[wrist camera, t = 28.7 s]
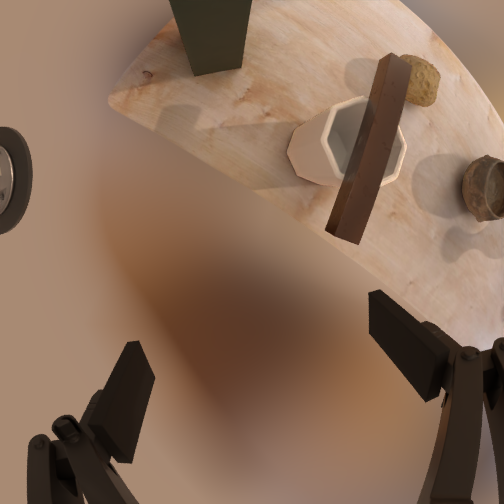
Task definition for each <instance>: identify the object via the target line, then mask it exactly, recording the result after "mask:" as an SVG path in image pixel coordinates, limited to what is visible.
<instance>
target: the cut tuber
mask: <svg viewBox="0 0 504 504" xmlns="http://www.w3.org/2000/svg"><path fill="white" fill-rule="evenodd" d="M400 58H401V59H403V60H404V61H406V62H407V63H409V64H410V65H412V70H411V75H410V80H409V84H408V89H407V93H406V97H405V100H407V101H409V102H411V103H413V104H415V105H420V106H422V107H428V106H430V105H432V104H433V103H434V102H435V100H436V96H437V89H438V86H439V81H440V78H441V77H440V74H439V72H438V71H437V69H436V68H435V67H434V66H433V64H430V63H429V62H428V61H426V60H424V59H421V58H419V57H416V56H412V55H407V54H406V55H402V56H400Z"/></svg>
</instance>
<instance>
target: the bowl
mask: <svg viewBox="0 0 504 504" xmlns="http://www.w3.org/2000/svg"><path fill="white" fill-rule="evenodd" d="M462 194H463V198H464V200H465V203H466V205H467V207H468V209H469V211H470V212H471V213H472V214H473V215H474V216H475V217H476V219H477V221H478V222H482V221H489V220H490V221H491V220H498V219H502V218H504V161H502V160H500V159H497V158H493V157H490V156H489V155H485V156H484V157H481V158H479V159H477V160H475V161H473V162H472V163H471V164H470V166H469V167H468V169H467V170H466V172H465V174H464V178H463V185H462Z"/></svg>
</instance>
